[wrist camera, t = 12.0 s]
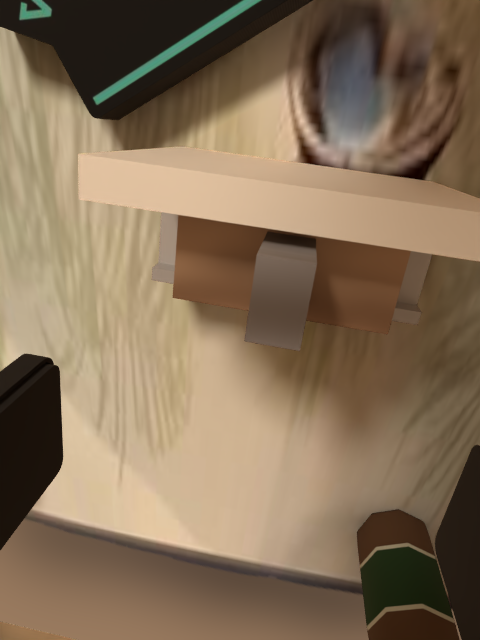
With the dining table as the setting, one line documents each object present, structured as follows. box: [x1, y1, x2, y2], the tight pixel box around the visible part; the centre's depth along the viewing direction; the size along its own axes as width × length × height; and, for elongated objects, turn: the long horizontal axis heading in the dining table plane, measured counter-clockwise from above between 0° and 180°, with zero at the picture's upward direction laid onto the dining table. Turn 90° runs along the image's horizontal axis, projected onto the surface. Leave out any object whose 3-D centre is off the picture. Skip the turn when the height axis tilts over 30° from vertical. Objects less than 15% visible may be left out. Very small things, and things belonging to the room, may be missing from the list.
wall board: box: [78, 146, 480, 325], centre depth 29 cm, size 10×20×18 cm, turn 83°
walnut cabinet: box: [173, 215, 411, 351], centre depth 26 cm, size 5×12×15 cm, turn 83°
